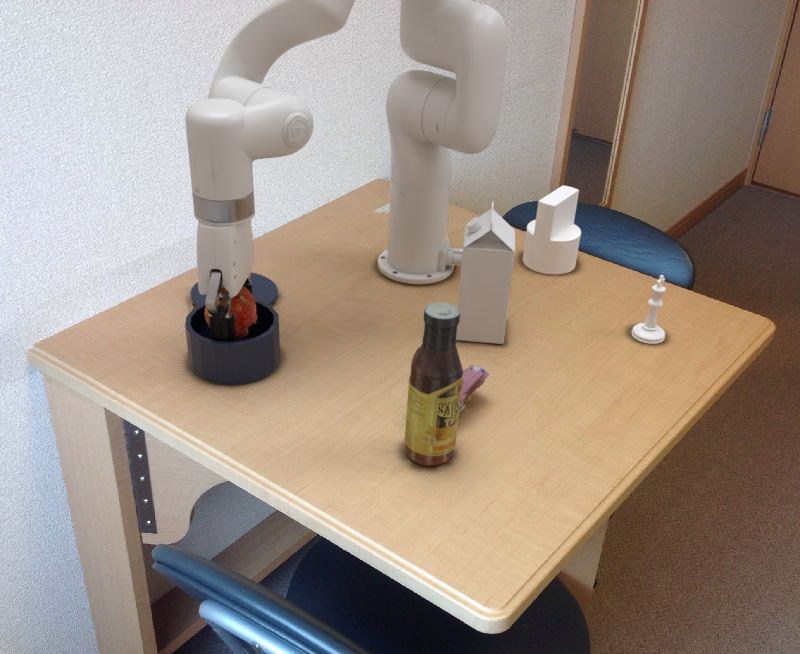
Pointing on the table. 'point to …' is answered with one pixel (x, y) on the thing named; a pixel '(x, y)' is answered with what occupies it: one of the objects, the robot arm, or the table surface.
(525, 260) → the cylinder with rectangular tab
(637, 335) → the chess piece
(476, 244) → the milk carton
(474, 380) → the video game controller
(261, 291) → the lid
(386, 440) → the table surface
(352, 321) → the table surface
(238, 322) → the pomegranate
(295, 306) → the table surface
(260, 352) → the bowl
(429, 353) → the sauce bottle
